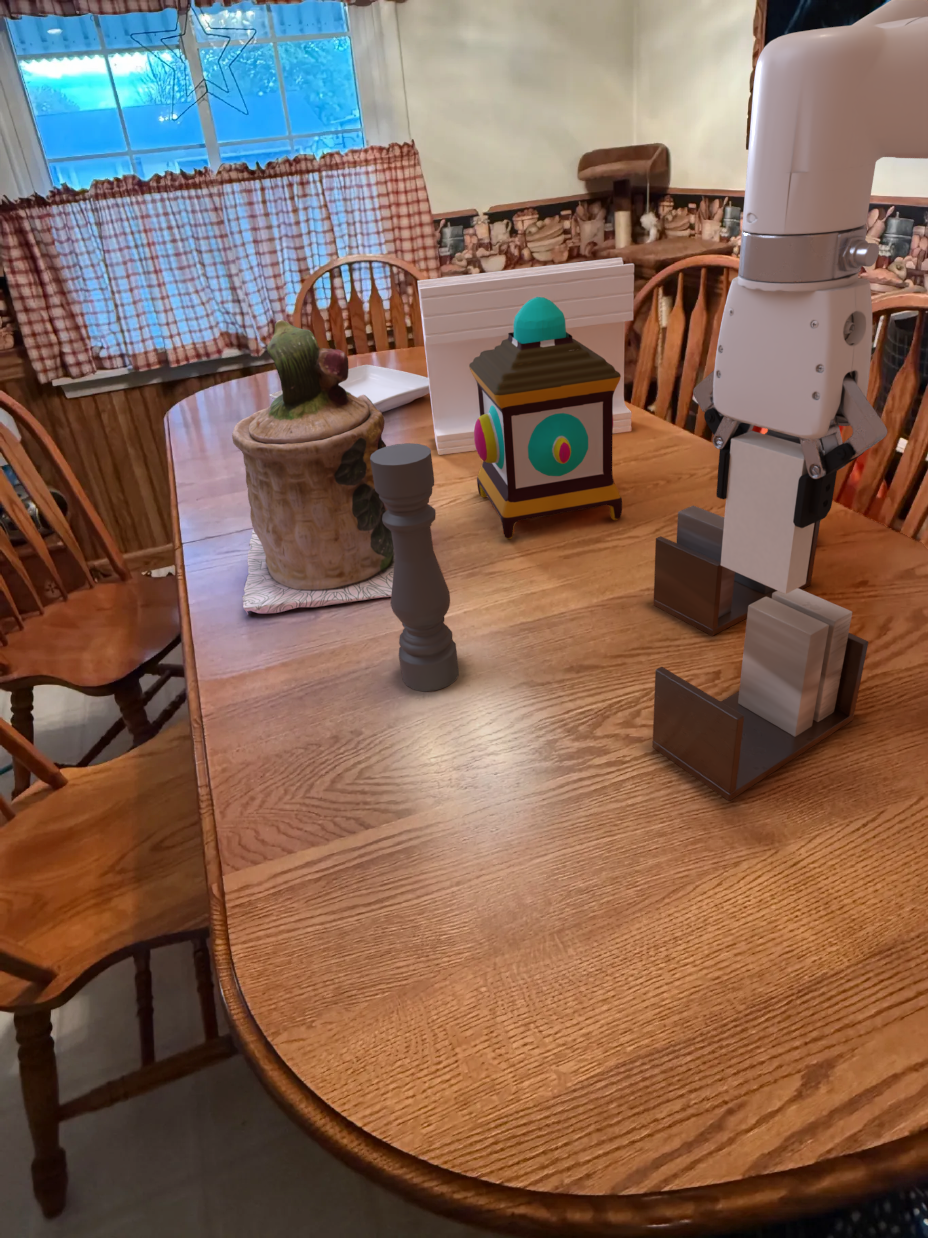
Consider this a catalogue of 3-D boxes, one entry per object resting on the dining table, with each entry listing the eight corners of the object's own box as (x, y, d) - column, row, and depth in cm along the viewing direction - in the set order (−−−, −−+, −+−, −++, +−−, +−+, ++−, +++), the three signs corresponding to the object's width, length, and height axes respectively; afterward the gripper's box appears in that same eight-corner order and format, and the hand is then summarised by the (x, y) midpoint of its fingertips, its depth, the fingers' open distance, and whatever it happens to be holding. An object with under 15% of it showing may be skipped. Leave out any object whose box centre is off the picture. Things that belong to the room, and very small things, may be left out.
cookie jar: (241, 623, 102) (169, 362, 85) (253, 539, 123) (197, 316, 106) (437, 592, 104) (405, 331, 87) (416, 515, 125) (387, 292, 108)
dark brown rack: (773, 677, 83) (786, 574, 77) (853, 720, 76) (875, 612, 70) (651, 747, 76) (656, 640, 69) (729, 801, 69) (741, 689, 63)
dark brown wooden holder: (749, 559, 104) (758, 471, 98) (810, 584, 97) (824, 492, 91) (653, 605, 97) (656, 513, 90) (712, 636, 90) (720, 539, 84)
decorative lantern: (497, 547, 113) (480, 321, 97) (467, 494, 130) (448, 294, 114) (635, 522, 116) (639, 299, 100) (588, 474, 132) (586, 275, 117)
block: (619, 417, 154) (620, 257, 140) (631, 431, 148) (634, 264, 133) (435, 440, 153) (417, 280, 138) (438, 454, 146) (420, 288, 131)
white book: (739, 556, 69) (752, 430, 64) (805, 584, 65) (825, 450, 59) (720, 565, 68) (730, 438, 63) (785, 594, 64) (803, 459, 58)
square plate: (270, 410, 179) (266, 392, 177) (369, 378, 194) (366, 362, 192) (341, 433, 161) (338, 413, 159) (444, 396, 176) (443, 378, 174)
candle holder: (453, 692, 85) (426, 465, 72) (396, 690, 87) (359, 467, 74) (463, 658, 91) (439, 441, 78) (409, 657, 92) (377, 443, 79)
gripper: (962, 257, 49) (904, 527, 59) (733, 241, 62) (716, 465, 71) (886, 279, 46) (838, 561, 55) (661, 257, 59) (653, 489, 68)
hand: (770, 505), depth 63 cm, fingers closed on white book, 6 cm apart
